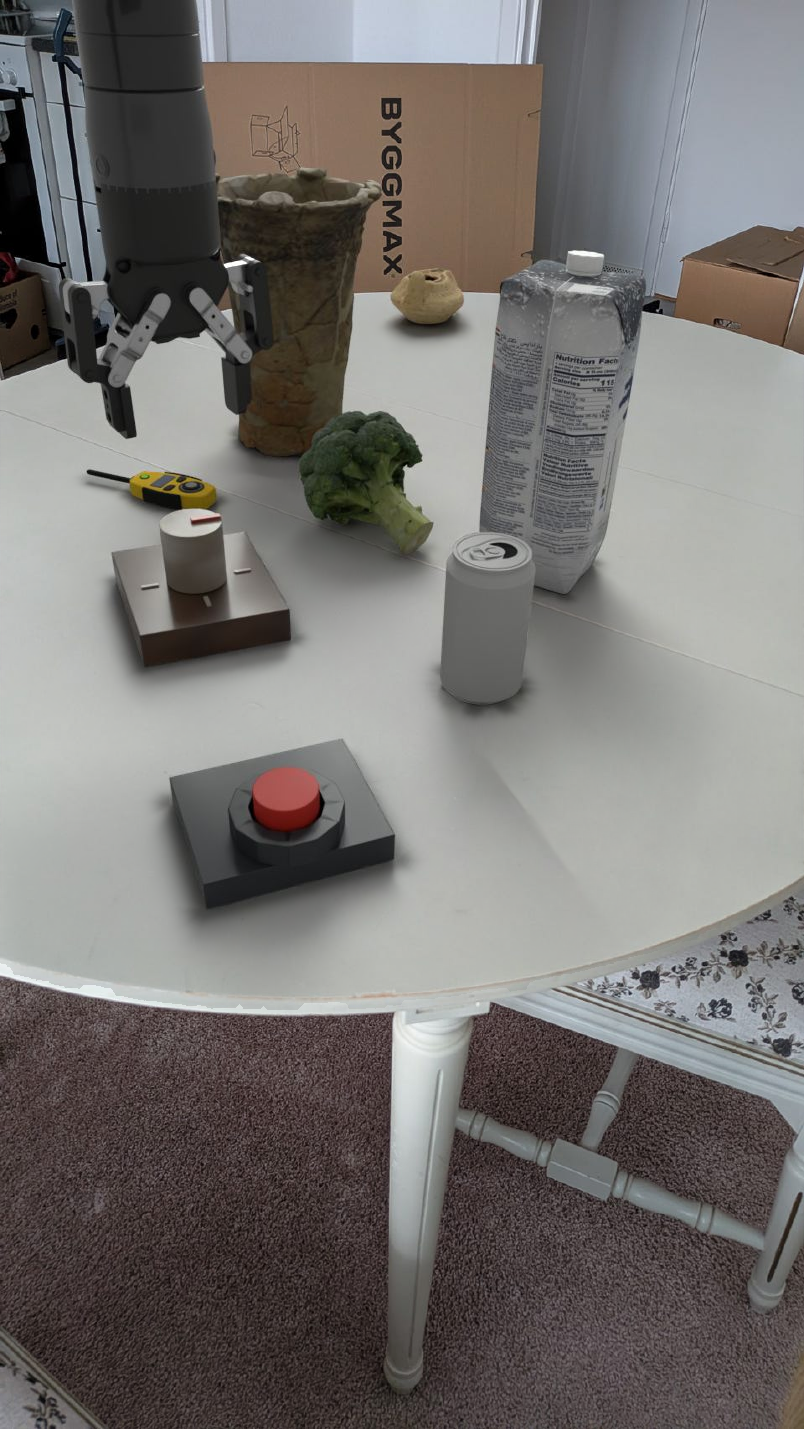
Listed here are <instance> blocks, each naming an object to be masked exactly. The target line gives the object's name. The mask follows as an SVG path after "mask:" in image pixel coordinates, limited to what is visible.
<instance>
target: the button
mask: <svg viewBox="0 0 804 1429" xmlns="http://www.w3.org/2000/svg"><path fill="white" fill-rule="evenodd" d="M252 794H253V806H254V814H255V817H256V819H257V820H258V822H259V823H260V824H261V825H263V826H264V827H266V828H268V829H270V830H274V831H282V832H290V831H294V830H298V829H302V828H305V827H307V826H308V825H310V824H311V823H312V822H313V821H314V820H315V819H316V817H317V816H318V814H319V810H320V802H319V784H318V782H317V780H316V778H315V777H314V776H313V775H312V774H310V773H309V772H307V771H305V770H303V769H299V768H295V767H280V768H276V769H272V770H269V771H267V772H265V773H264V774H262V775H261V776H260V777H259V778H258V779H257V780H256V781H255V783H254V785H253V789H252Z"/></svg>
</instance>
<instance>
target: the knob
mask: <svg viewBox="0 0 804 1429" xmlns="http://www.w3.org/2000/svg"><path fill="white" fill-rule="evenodd" d="M158 529H159V537H160V545H161V544H162V552H163V559H164V567H165V574H166V581H167V584H168V585H169V587H171V588H172V589H174V590H176V591H178V592H182V593H188V594H199V593H206V592H210V591H213V590H215V589H217V588H219V587H221V586H222V585H223V584H224V583H225V581H226V579H227V571H226V560H225V549H224V538H223V535H224V529H223V519H222V515H221V513H217V512H214V511H212V510H208V509H205V510H204V509H182V510H179V509H177V510H175V511H172V512H170V513H167V514H166V515H164V516H163V517H161V519H160V521H159V522H158Z"/></svg>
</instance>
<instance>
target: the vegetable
mask: <svg viewBox="0 0 804 1429" xmlns="http://www.w3.org/2000/svg"><path fill="white" fill-rule="evenodd" d="M311 443H312V447H311V448H310V449H309V450H308V451H307V452H305V453H304V454H303V456H300V459H299V461H298V473H299V475H300V477H299V479H300V482H301V484H302V486H303V493H304V499H305V502H306V505H307V507H308V509H309V511H310V512H311V513H312V515H313V516H314V517H315V518H316V519H319V520H321V521H324V520H328V518H329V519H330V520H331V521H333V522H335V523H337V524H338V525H340V526H341V525H342V526H345V525H346V524H347V523H348V522H349V519H353V520H359V521H361V522H365V523H368V524H374V525H380V526H382V527H384V528H385V531H386V533H387V535H388V536H390V538H391V539H392V540H394V542H395V543H396V544H397V546H398V547H399V553H401V554H404V555H407V556H409V555H410V554H412V553H414V552H415V551H417V550H419V548H421V546H422V545H423V544H425V543H426V541H427V539H428V538H429V536H430V534H431V532H432V530H433V528H434V524H435V522H434V521H431V520H430V519H429V518H427V516H425V514H423V506H422V505H418V506H414V505H413V504H412V503H411V502H410V501H409V500H408V499H407V493H406V492H405V486H404V485H405V484H404V483H405V482H404V480H405V476H406V471H405V470H404V468H405V467H407V468H409V469H410V468H411V469H412V468H414V466H415V465H417V464H420V463H422V462H423V453H422V452H421V450H420V448H419V447H420V446H419V444H417V441H416V439H415V438H414V436H413V435H412V434H411V433H409V432H407V431H406V429H405V428H404V427H403V425H402V423H400V422H398V420H397V419H396V417H395V416H393V415H391V414H390V413H389V412H386V411H383V410H378V411H374V412H371V413H368V414H365V413H364V412H363V411H362V410H353V411H349V410H348V411H345V412H343V414H342V415H340V416H339V417H337V418H335V417H333V418H332V419H331V420H330V421H329V422H328V423H327V424H325V426H324V428H322V429H320V430H318V431H317V432H316V433H315V434H314V436H313V438H312V442H311Z"/></svg>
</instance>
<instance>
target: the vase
mask: <svg viewBox="0 0 804 1429" xmlns="http://www.w3.org/2000/svg"><path fill="white" fill-rule="evenodd" d="M327 173H328V171H327V169H324V168H314V167H308V168H307V167H303V166H302V167H301V166H300V167H298V168H297V169H296V175H295V174H292V175H289V174H287V173H284V172H280V173H277V172H274V174H272V173H270V172H268V173H267V172H266V173H261V174H256V175H254V174H242V175H237V176H231V177H225V178H221V174H219V173H218V172H215V176H216V187H217V200H218V212H219V225H220V237H221V247H220V254H221V259H222V262H223V264H226V263H230V262H235V260H236V258H237V257H238V256H239V255H241V254H245V255H247V256H249V257H251V258H253V259H255V260H257V261H259V262H261V263H263V264H264V265H265V266H266V269H267V278H268V287H269V297H270V306H271V316H272V325H273V335H274V344H273V346H272V348H270V349H269V350H263V349H262V350H261V351H259V352H258V353H256V354H255V355H253V357H252V358H251V361H250V373H251V390H252V399H251V403H250V404H248V405H246V406H247V411H246V413H244V414H239V415H238V431H237V435H238V438H239V441H240V442H243V443H244V445H245V446H246V448H248V449H249V448H253V449H254V448H256V450H258V451H259V452H260V453H261V454H264V455H265V456H266V457H285V458H288V457H289V456H294V457H302V456H303V454H304V453H305V452H307V451H308V450H309V449H310V448H311V447H312V443H311V442H312V438H313V436H314V434H315V433H316V432H317V431H318V430H320V429H322V428H324V426H325V424H327V423H328V422H329V421H330V420H331V419H332V418H333V417H335V418H337V417H339V416H340V415H342V414H343V413H344V412H343V409H344V408H343V404H344V392H345V378H346V377H345V376H346V373H347V368H348V363H349V354H350V348H351V340H352V333H353V325H354V324H353V323H354V322H353V316H354V303H355V291H354V288H355V275H356V268H357V262H358V257H359V254H360V252H361V250H362V246H363V234H364V231H365V227H364V224H366V220H367V212H368V211H369V209H370V208H371V206H372V205H373V204H374V203H375V202H377V201H378V200H380V199H381V197H382V196H383V194H382V190H383V189H382V185H381V184H380V183H379V182H378V181H375V180H373V179H366V180H364V183H360V182H359V183H358V182H353V181H351V180H348V179H344V178H338V177H332V176H327ZM227 289H228V295H229V301H230V307H231V312H232V320H233V327H234V328H235V329H236V332H237V333H238V334H240V333H241V332H243V325H242V317H241V309H240V301H239V293H237V292H236V291H234V290H233V288H232V285H231V283H230V281H229V283H228V287H227Z"/></svg>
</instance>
